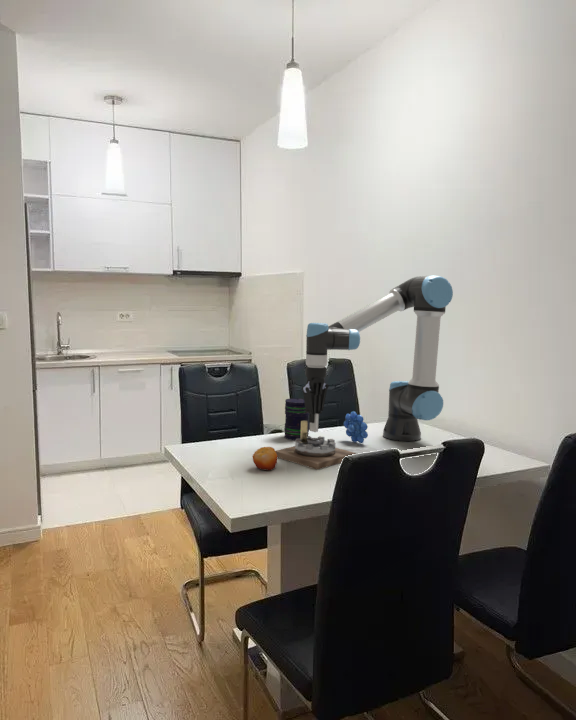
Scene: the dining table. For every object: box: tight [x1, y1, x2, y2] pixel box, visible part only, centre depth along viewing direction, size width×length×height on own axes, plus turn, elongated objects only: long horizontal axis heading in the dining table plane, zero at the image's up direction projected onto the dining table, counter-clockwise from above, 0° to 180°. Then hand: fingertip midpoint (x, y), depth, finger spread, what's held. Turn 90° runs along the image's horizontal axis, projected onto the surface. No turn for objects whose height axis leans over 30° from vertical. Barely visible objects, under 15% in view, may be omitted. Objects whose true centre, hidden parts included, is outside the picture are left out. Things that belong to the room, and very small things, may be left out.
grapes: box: [343, 410, 369, 444], centre depth 219 cm, size 12×7×12 cm, turn 44°
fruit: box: [251, 446, 278, 471], centre depth 183 cm, size 8×8×8 cm
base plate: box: [275, 445, 356, 471], centre depth 197 cm, size 20×20×2 cm
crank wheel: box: [294, 421, 337, 457], centre depth 196 cm, size 14×14×10 cm
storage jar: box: [283, 397, 310, 441], centre depth 224 cm, size 10×10×15 cm
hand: (313, 431), depth 204 cm, fingers closed
